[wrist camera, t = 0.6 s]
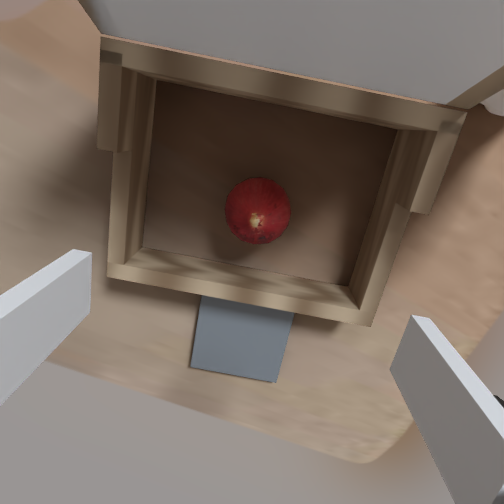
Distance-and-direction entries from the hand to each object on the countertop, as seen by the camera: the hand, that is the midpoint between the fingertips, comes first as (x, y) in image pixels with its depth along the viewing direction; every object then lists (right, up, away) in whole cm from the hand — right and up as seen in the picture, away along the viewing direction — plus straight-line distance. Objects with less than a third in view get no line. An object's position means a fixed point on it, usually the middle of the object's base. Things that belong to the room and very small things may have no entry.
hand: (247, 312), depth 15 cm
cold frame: (+1, +8, +20) cm, 22 cm away
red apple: (+1, +7, +20) cm, 22 cm away
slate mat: (-1, -7, +25) cm, 26 cm away
